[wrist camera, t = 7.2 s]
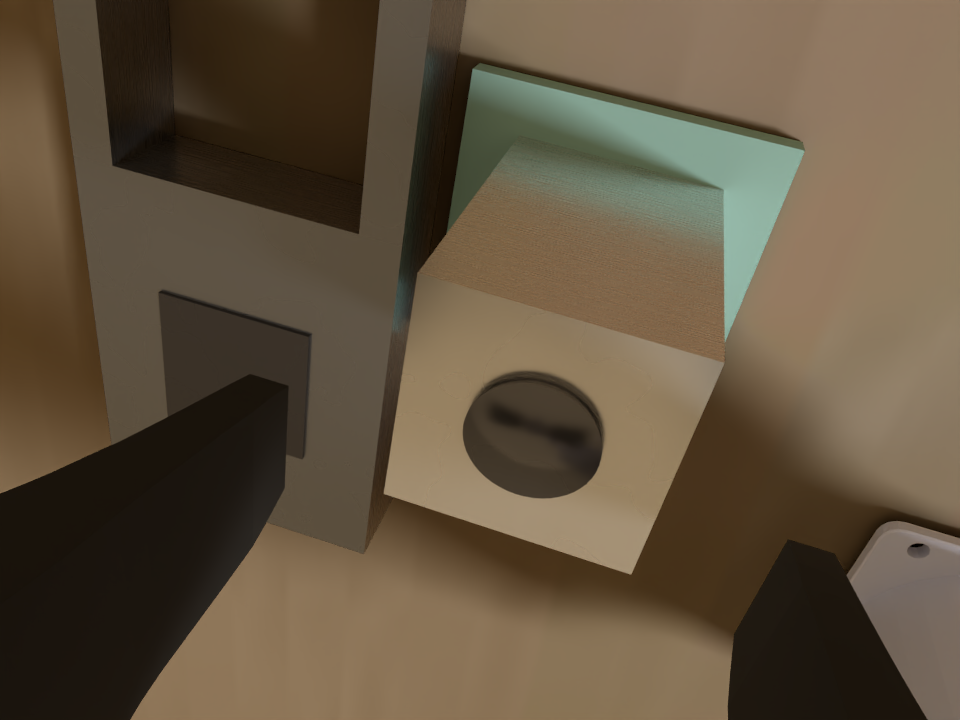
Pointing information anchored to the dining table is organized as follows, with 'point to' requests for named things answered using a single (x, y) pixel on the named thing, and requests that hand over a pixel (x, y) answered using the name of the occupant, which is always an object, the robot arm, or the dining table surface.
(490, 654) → the dining table surface
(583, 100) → the mat
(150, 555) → the robot arm
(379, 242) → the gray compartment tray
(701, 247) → the cube with screw head
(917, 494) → the dining table surface
